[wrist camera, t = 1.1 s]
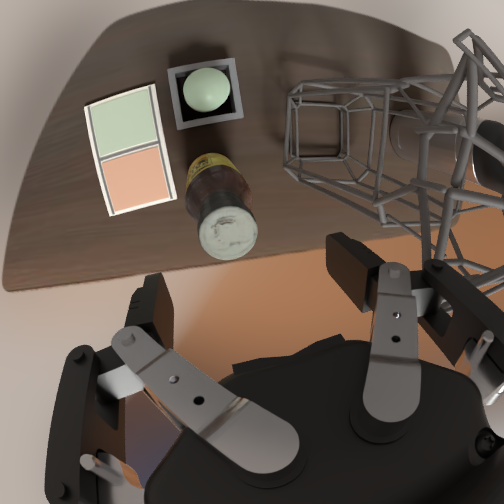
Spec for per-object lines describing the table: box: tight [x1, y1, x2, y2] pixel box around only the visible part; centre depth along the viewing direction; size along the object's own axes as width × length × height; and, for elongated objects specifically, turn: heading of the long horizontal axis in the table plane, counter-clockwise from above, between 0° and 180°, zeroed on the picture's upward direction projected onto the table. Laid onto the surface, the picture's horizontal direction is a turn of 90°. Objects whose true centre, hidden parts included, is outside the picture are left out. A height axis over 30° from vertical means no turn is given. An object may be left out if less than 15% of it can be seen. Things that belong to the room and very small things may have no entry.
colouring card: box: [84, 84, 177, 217], centre depth 31 cm, size 10×16×1 cm, turn 9°
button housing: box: [167, 58, 244, 130], centre depth 29 cm, size 8×8×3 cm
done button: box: [183, 68, 230, 112], centre depth 26 cm, size 5×5×4 cm
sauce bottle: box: [185, 153, 258, 260], centre depth 26 cm, size 7×6×20 cm
